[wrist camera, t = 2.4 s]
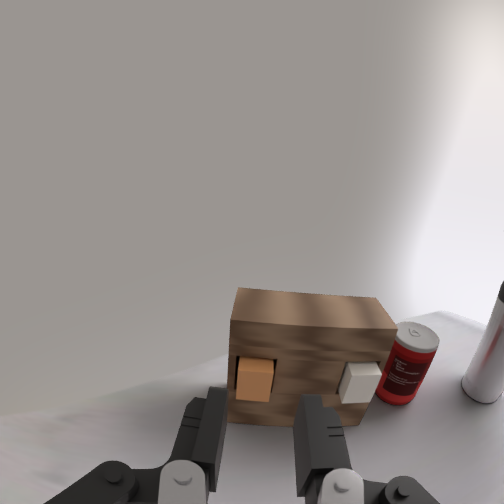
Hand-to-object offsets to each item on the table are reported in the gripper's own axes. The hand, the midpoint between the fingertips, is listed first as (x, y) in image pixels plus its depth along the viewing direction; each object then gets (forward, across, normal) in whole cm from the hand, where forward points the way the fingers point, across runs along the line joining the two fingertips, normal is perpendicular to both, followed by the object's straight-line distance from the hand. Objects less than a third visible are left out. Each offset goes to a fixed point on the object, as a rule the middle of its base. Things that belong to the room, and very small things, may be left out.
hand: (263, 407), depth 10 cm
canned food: (+24, +23, -22) cm, 40 cm away
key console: (+21, +6, -22) cm, 31 cm away
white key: (+18, +12, -15) cm, 26 cm away
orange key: (+18, 0, -15) cm, 23 cm away
